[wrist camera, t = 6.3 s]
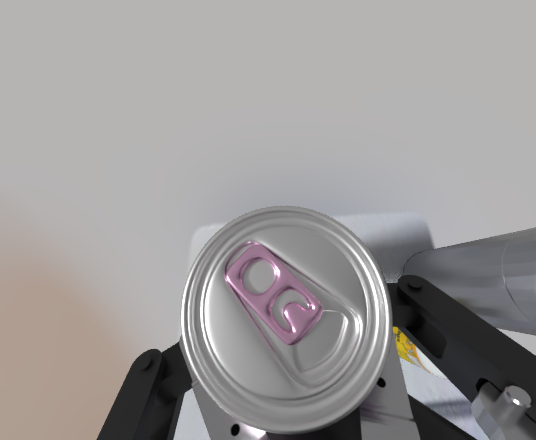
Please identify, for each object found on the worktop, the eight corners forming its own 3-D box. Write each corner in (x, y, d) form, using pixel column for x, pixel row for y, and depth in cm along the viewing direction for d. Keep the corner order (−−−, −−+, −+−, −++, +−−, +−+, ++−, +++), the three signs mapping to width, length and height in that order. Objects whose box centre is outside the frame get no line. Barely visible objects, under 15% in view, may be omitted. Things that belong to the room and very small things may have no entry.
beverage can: (273, 244, 21) (282, 161, 7) (320, 289, 20) (448, 304, 6) (228, 290, 20) (125, 306, 6) (274, 341, 19) (292, 522, 5)
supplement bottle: (410, 367, 29) (476, 406, 20) (376, 337, 30) (425, 360, 21) (431, 335, 30) (504, 357, 21) (398, 306, 31) (454, 315, 22)
